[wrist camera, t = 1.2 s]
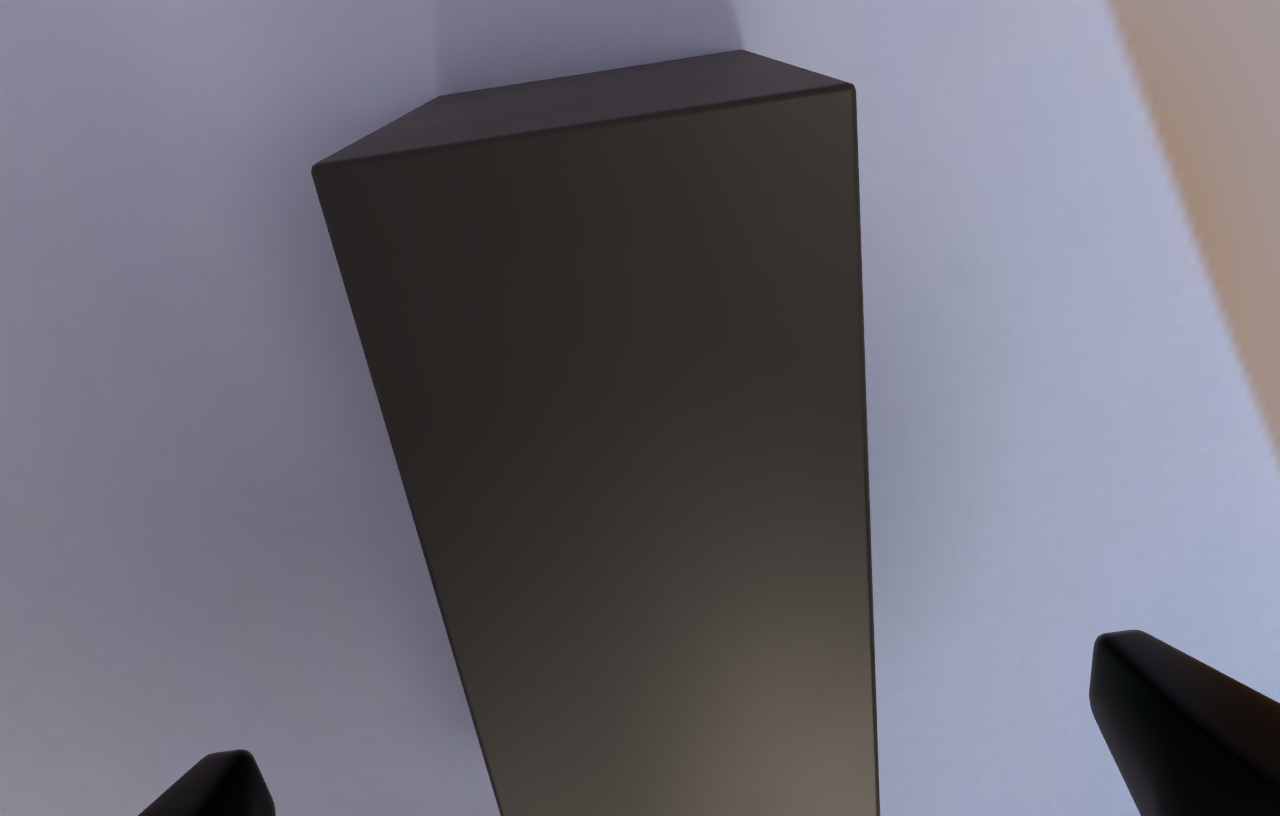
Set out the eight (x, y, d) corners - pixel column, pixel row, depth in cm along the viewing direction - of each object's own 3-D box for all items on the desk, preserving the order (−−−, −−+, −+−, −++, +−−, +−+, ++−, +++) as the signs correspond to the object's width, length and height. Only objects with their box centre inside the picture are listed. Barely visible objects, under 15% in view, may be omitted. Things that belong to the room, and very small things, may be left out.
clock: (806, 688, 17) (898, 998, 12) (577, 719, 18) (565, 1039, 12) (756, 47, 12) (876, 79, 7) (435, 96, 12) (305, 165, 7)
